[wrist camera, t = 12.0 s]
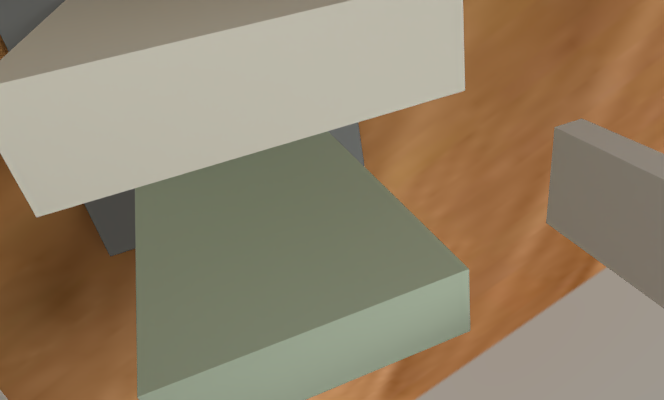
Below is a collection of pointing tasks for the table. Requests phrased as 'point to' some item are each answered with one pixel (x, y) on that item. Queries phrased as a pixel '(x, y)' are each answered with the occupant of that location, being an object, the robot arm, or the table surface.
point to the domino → (207, 84)
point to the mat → (119, 209)
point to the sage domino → (284, 277)
